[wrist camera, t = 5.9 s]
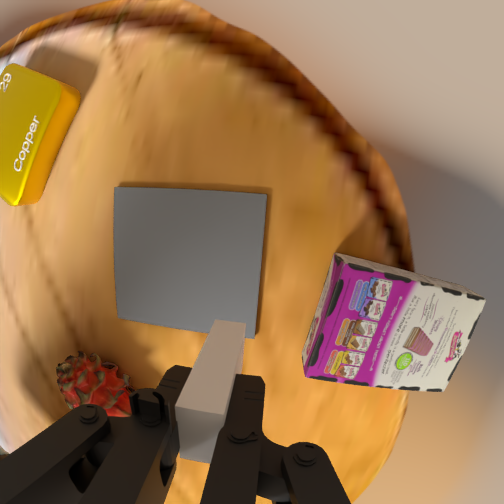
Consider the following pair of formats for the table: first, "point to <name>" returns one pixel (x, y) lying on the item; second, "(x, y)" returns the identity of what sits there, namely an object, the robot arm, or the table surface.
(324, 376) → the candy bar box
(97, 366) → the dragon fruit
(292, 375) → the table surface
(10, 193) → the element tile
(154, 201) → the mat
